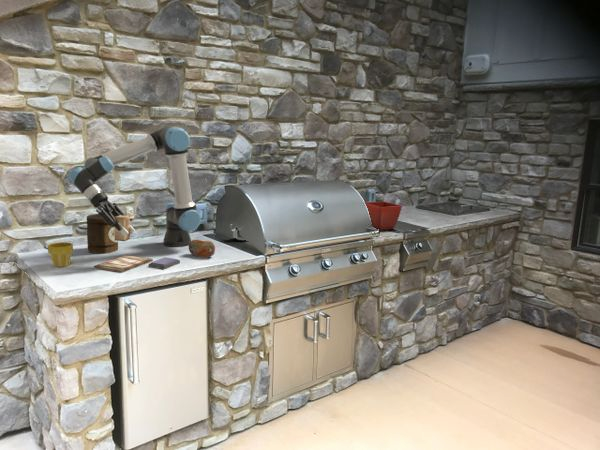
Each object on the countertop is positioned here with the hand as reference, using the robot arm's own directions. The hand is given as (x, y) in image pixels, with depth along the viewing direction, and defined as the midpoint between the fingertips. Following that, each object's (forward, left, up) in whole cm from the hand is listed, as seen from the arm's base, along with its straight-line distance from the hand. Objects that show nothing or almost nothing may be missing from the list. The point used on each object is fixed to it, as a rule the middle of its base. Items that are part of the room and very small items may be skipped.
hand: (129, 233), depth 228 cm
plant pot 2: (-148, +88, -15) cm, 174 cm away
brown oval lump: (-30, +20, -15) cm, 39 cm away
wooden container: (-15, -31, -15) cm, 38 cm away
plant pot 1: (+15, -28, -15) cm, 35 cm away
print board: (0, -4, -15) cm, 16 cm away
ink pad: (-8, +13, -15) cm, 22 cm away
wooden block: (+1, -4, -3) cm, 5 cm away
